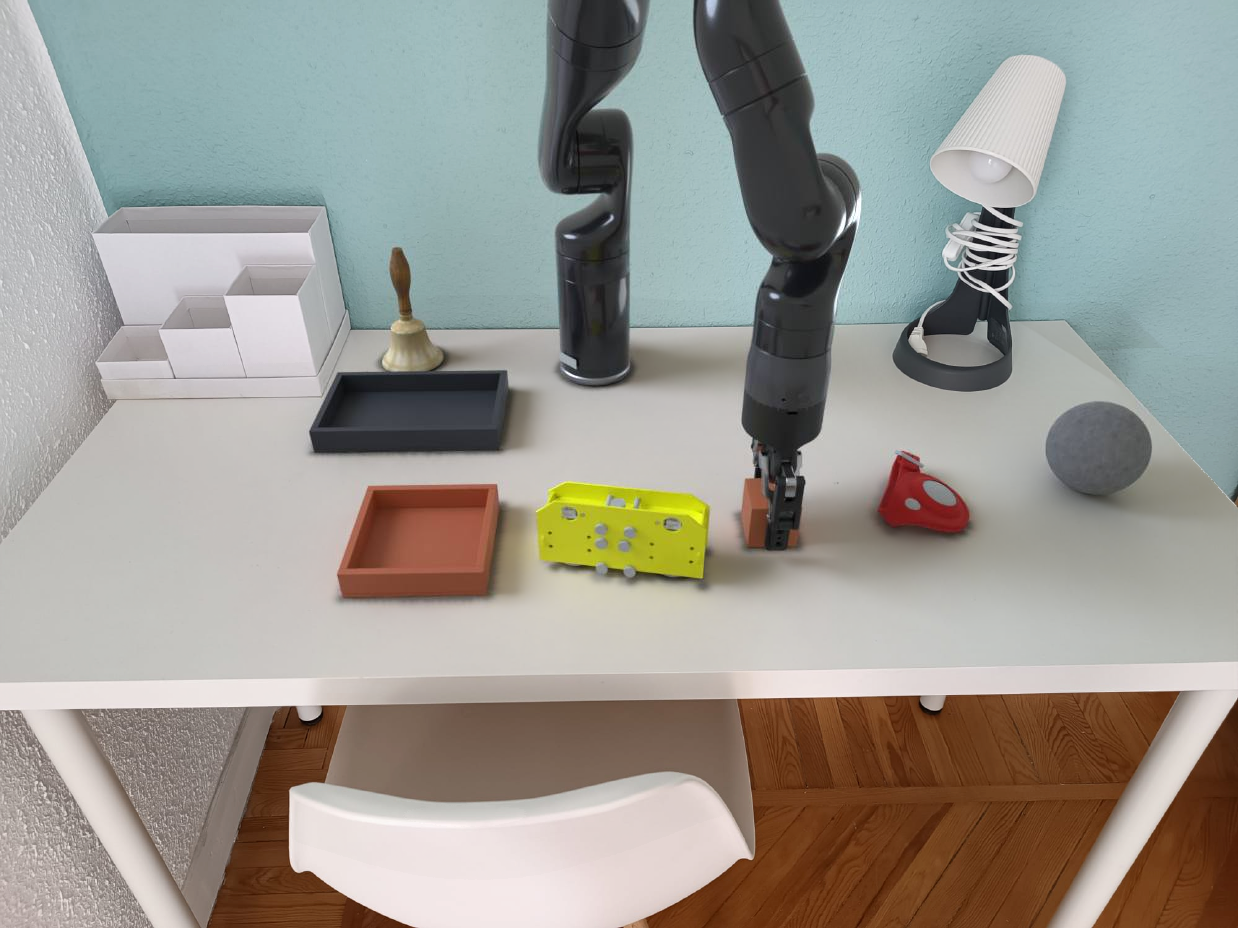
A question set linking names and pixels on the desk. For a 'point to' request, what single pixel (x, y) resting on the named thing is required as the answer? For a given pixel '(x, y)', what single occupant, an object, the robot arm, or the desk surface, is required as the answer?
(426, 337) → the hand bell
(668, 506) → the yellow toy chassis
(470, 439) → the charcoal tray
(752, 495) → the terracotta block
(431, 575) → the terracotta tray
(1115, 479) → the decorative ball
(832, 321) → the robot arm
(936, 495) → the tracker holder
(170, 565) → the desk surface
